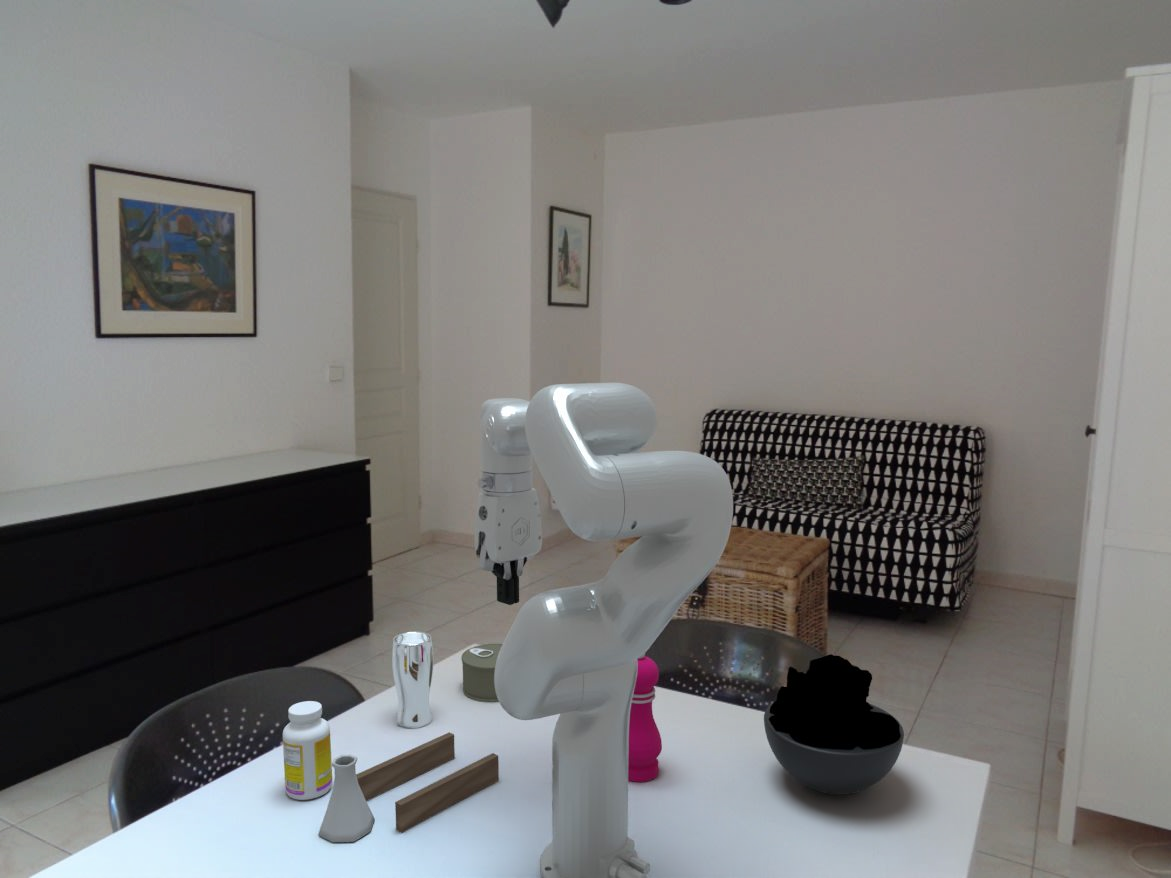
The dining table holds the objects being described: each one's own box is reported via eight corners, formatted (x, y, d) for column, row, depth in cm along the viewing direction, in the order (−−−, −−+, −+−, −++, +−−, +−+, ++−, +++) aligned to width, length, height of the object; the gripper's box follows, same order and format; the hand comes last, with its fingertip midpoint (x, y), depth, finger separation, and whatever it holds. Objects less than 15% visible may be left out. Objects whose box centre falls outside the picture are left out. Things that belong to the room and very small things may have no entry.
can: (498, 709, 154) (497, 672, 153) (448, 693, 160) (448, 658, 159) (538, 686, 164) (537, 651, 163) (489, 672, 170) (489, 639, 169)
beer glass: (390, 716, 151) (387, 634, 149) (428, 708, 153) (427, 628, 152) (398, 733, 144) (396, 647, 142) (439, 725, 147) (437, 641, 145)
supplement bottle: (332, 775, 131) (328, 695, 129) (333, 797, 124) (329, 714, 123) (285, 782, 129) (282, 701, 127) (284, 805, 122) (280, 720, 121)
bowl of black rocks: (895, 761, 135) (901, 647, 133) (906, 833, 116) (913, 701, 113) (766, 745, 140) (769, 635, 138) (757, 810, 121) (760, 684, 119)
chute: (498, 780, 129) (498, 755, 129) (401, 832, 116) (400, 805, 115) (449, 755, 137) (449, 732, 136) (353, 802, 123) (352, 776, 123)
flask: (356, 848, 112) (353, 777, 111) (308, 839, 114) (305, 769, 113) (384, 818, 119) (382, 751, 118) (338, 810, 121) (336, 743, 120)
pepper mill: (606, 776, 130) (607, 651, 128) (626, 756, 137) (627, 636, 134) (650, 788, 127) (651, 660, 124) (668, 766, 133) (670, 644, 131)
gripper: (486, 492, 118) (488, 620, 120) (559, 478, 129) (560, 595, 131) (451, 485, 123) (453, 608, 125) (524, 473, 134) (525, 586, 136)
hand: (508, 601), depth 128 cm, fingers closed
